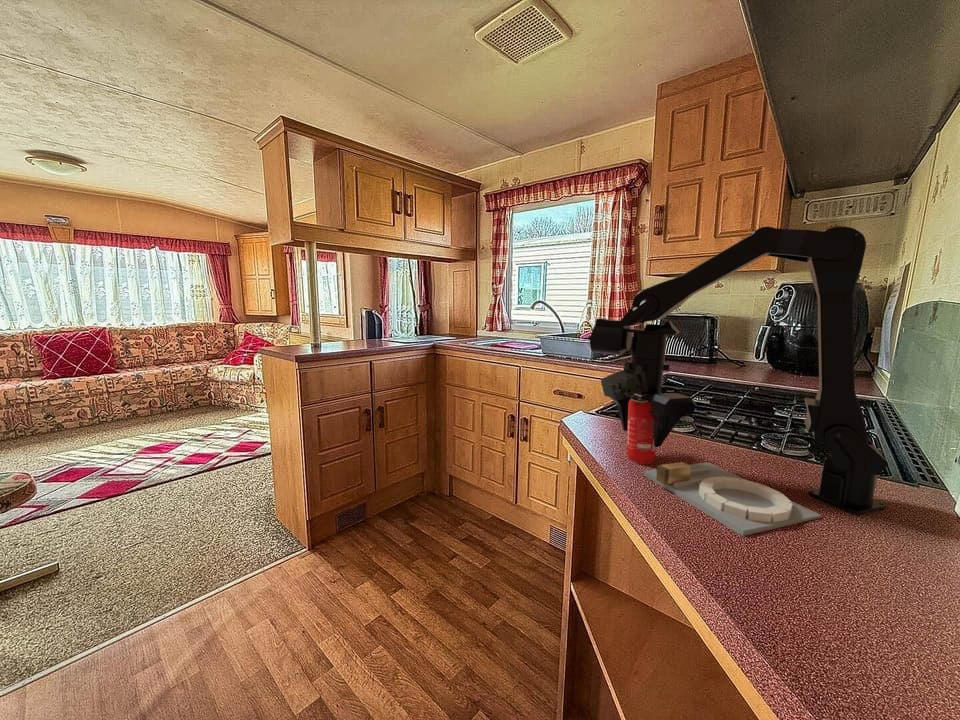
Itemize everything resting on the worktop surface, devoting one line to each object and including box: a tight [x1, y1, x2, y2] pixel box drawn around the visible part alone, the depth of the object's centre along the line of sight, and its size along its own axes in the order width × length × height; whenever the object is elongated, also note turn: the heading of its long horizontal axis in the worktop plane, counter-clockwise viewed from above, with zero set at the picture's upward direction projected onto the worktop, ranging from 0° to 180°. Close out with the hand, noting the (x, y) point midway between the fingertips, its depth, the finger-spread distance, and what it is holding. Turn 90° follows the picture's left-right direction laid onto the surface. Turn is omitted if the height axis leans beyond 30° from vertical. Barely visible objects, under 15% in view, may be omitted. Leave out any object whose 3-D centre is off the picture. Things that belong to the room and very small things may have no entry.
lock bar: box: [656, 461, 691, 485], centre depth 64 cm, size 5×2×2 cm, turn 106°
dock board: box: [643, 461, 822, 537], centre depth 62 cm, size 14×19×2 cm
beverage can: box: [625, 396, 657, 465], centre depth 75 cm, size 5×5×12 cm
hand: (640, 438), depth 75 cm, fingers open, 8 cm apart
